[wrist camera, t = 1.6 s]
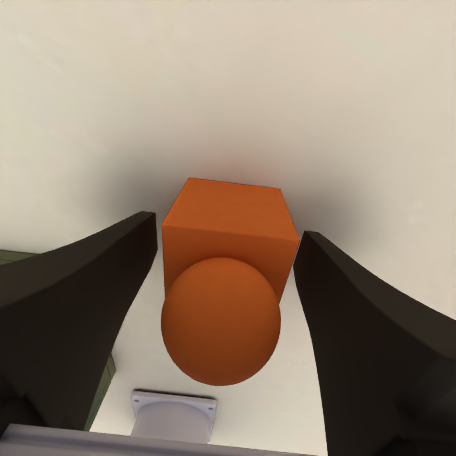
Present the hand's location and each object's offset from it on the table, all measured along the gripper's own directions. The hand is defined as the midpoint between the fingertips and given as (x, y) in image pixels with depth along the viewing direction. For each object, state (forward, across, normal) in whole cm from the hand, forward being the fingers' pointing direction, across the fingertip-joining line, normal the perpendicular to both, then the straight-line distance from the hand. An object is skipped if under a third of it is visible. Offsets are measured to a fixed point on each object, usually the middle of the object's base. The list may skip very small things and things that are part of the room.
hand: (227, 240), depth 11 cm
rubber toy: (+2, 0, 0) cm, 2 cm away
